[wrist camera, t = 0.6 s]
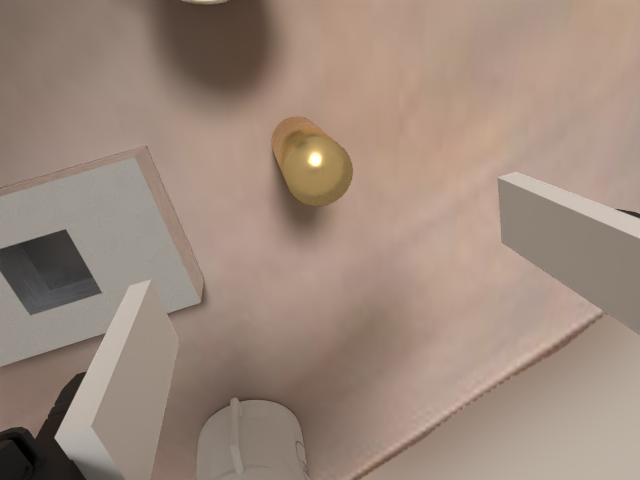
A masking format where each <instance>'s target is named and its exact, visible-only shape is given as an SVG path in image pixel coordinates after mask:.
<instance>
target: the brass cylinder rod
mask: <svg viewBox="0 0 640 480" xmlns="http://www.w3.org/2000/svg"><path fill="white" fill-rule="evenodd" d="M272 149H273V152H274V154H275V157H276V159H277V162H278V164H279V166H280V169H281V171H282V174H283V176H284V178H285V181H286V183H287V186H288V188H289V190H290V192H291V193H292V194H293V195H294V197H295V198H297V199H298V200H299V201H301V202H303V203H305V204H307V205H311V206H324V205H328V204H331V203H333V202H335V201H336V200H338V199H339V198H340V197H341V196H343V194H344V193H345V192H346V191H347V189H348V187H349V185H350V183H351V180H352V174H353V167H352V162H351V159H350V157H349V155H348V153H347V152H346V151H345V149H344V148H343V147H341V146H340V145H339V144H338V143H337V142H336V141H334V140H333V139H332V138H331V137H329V136H328V135H327V134H326V133H325V132H323V131H322V130H321V129H320V128H319V127H317V126H316V125H315V124H314V123H313V122H311V121H310V120H308V119H306V118H303V117H291V118H288V119H285V120H284V121H282V122H281V123H280V124H279V125H278V126H277V127H276V129H275V130H274V133H273V136H272Z"/></svg>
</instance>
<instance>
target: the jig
mask: <svg viewBox="0 0 640 480" xmlns="http://www.w3.org/2000/svg"><path fill="white" fill-rule="evenodd" d="M147 280H151V281H152V283H153V285H154V287H155V289H156V291H157V293H158V295H159V298H160V300H161V302H162V304H163V306H164V308H165V310H166V313H170V312H173V311H176V310H179V309H182V308H186V307H189V306H192V305H195V304H198V303H201V297H202V290H203V283H204V277H203V275H202V273H201V270H200V268H199V266H198V264H197V261H196V259H195V257H194V254H193V252H192V250H191V248H190V245H189V243H188V241H187V238H186V236H185V234H184V231H183V229H182V227H181V225H180V222H179V220H178V218H177V215H176V213H175V211H174V209H173V206H172V204H171V202H170V199H169V197H168V195H167V193H166V190H165V188H164V186H163V183H162V181H161V179H160V176H159V174H158V172H157V170H156V167H155V165H154V163H153V160H152V158H151V156H150V154H149V151H148V149H147V147H146V146H143V147H140V148H137V149H133V150H130V151H126V152H123V153H119V154H116V155H113V156H109V157H106V158H102V159H99V160H96V161H92V162H89V163H85V164H82V165H78V166H75V167H72V168H68V169H65V170H61V171H58V172H54V173H51V174H48V175H44V176H41V177H37V178H34V179H31V180H27V181H24V182H20V183H17V184H13V185H10V186H7V187H3V188H0V367H1V366H4V365H7V364H10V363H13V362H16V361H19V360H23V359H26V358H29V357H32V356H35V355H38V354H41V353H45V352H48V351H51V350H54V349H57V348H60V347H63V346H66V345H70V344H73V343H76V342H79V341H82V340H85V339H88V338H92V337H95V336H98V335H101V334H104V333H106V332H107V330H108V328H109V326H110V324H111V322H112V320H113V318H114V316H115V314H116V312H117V310H118V308H119V306H120V304H121V302H122V300H123V298H124V296H125V294H126V292H127V290H128V288H129V286H130V285H134V284H137V283H141V282H144V281H147Z"/></svg>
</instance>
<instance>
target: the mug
mask: <svg viewBox="0 0 640 480" xmlns="http://www.w3.org/2000/svg"><path fill="white" fill-rule="evenodd" d="M182 1H186V2H190V3H196V4H218V3H223V2H227V1H230V0H182Z"/></svg>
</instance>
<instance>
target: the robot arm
mask: <svg viewBox="0 0 640 480" xmlns="http://www.w3.org/2000/svg"><path fill="white" fill-rule="evenodd" d="M498 191H499V206H500V222H501V238H502V243H503V244H505V245H506V246H508V247H509V248H511V249H512V250H514V251H515V252H517V253H518V254H520V255H521V256H523V257H524V258H526V259H527V260H529V261H530V262H532V263H533V264H535V265H536V266H537V267H539V268H540V269H542V270H543V271H545V272H546V273H548V274H549V275H551V276H552V277H554V278H555V279H557V280H558V281H560V282H561V283H563V284H564V285H566V286H567V287H569V288H570V289H572V290H573V291H575V292H576V293H578V294H579V295H581V296H582V297H584V298H585V299H587V300H588V301H590V302H591V303H593V304H594V305H596V306H597V307H599V308H600V309H602V310H603V311H605V312H606V313H608V314H609V315H611V316H612V317H614V318H615V319H617V320H618V321H619V322H621V323H622V324H624V325H625V326H627V327H628V328H630V329H631V330H633V331H634V332H636V333H637V334H639V335H640V214H638V213H636V212H631V211H625V210H619V209H613V208H610V207H608V206H605V205H602V204H600V203H597V202H595V201H592V200H589V199H587V198H584V197H581V196H579V195H576V194H574V193H571V192H568V191H566V190H563V189H560V188H558V187H555V186H553V185H550V184H547V183H545V182H542V181H539V180H537V179H534V178H532V177H529V176H526V175H524V174H521V173H518V172H514V173H511V174H508V175H504V176H501V177H498ZM179 343H180V340H179V338H178V336H177V334H176V332H175V330H174V327H173V325H172V323H171V321H170V319H169V317H168V315H167V313H166V310H165V308H164V306H163V304H162V302H161V300H160V298H159V295H158V293H157V291H156V289H155V287H154V285H153V283H152V281H151V280H147V281H144V282H141V283H137V284H134V285H130V286H129V288H128V290H127V292H126V294H125V296H124V298H123V300H122V302H121V304H120V306H119V308H118V310H117V312H116V314H115V316H114V318H113V320H112V322H111V324H110V326H109V328H108V330H107V332H106V334H105V336H104V338H103V340H102V342H101V344H100V346H99V348H98V350H97V352H96V354H95V357H94V359H93V361H92V363H91V365H90V367H89V369H88V371H86V372H83V373H80V374H76V376H75V377H74V378H73V379H72V380H71V381H70V382H69V383H68V384H67V385H66V386H65V387H64V388H63V389H62V391H61V393H60V395H59V396H58V398H57V400H56V402H55V406H54V407H53V408H52V409H51V411H50V413H49V415H48V419H46V420H45V422H44V424H43V426H42V428H41V430H40V431H39V433H38V435H37V437H36V439H34V437H33V436H32V435H31V433H30V432H29V431H28V430H27V429H25V428H23V427H16V428H10V429H8V430H5V431H2V432H0V480H150V479H151V475H152V470H153V465H154V461H155V456H156V451H157V446H158V442H159V437H160V432H161V428H162V423H163V418H164V413H165V409H166V404H167V399H168V395H169V390H170V385H171V381H172V376H173V371H174V366H175V362H176V357H177V352H178V348H179Z"/></svg>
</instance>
